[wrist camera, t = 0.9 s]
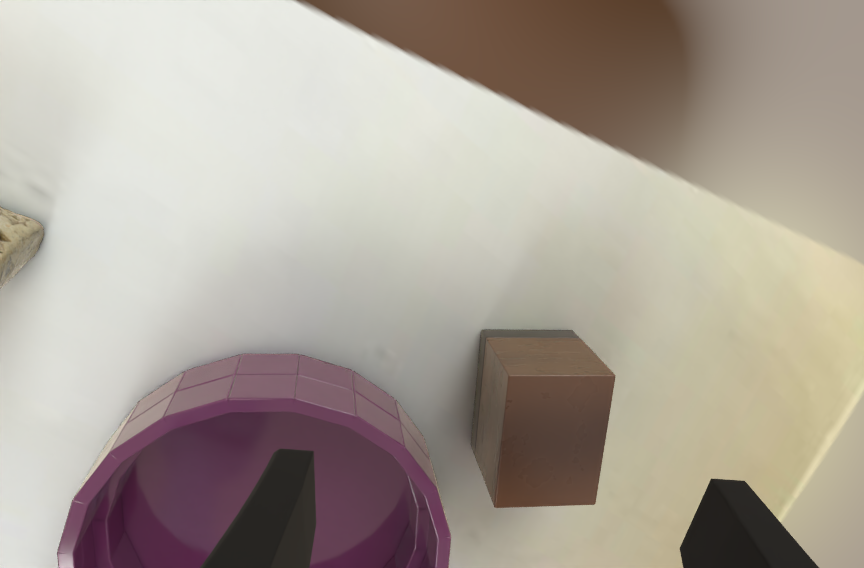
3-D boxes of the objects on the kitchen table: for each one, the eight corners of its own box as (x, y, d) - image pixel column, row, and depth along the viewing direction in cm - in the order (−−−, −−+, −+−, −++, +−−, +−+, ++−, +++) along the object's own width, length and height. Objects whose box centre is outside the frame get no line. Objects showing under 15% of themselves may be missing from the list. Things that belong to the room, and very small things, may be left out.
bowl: (422, 616, 35) (437, 701, 30) (113, 635, 32) (77, 730, 28) (442, 347, 30) (463, 396, 26) (87, 345, 28) (38, 399, 23)
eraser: (557, 443, 33) (595, 505, 28) (470, 445, 32) (494, 508, 27) (572, 329, 31) (616, 375, 26) (481, 328, 30) (508, 375, 26)
